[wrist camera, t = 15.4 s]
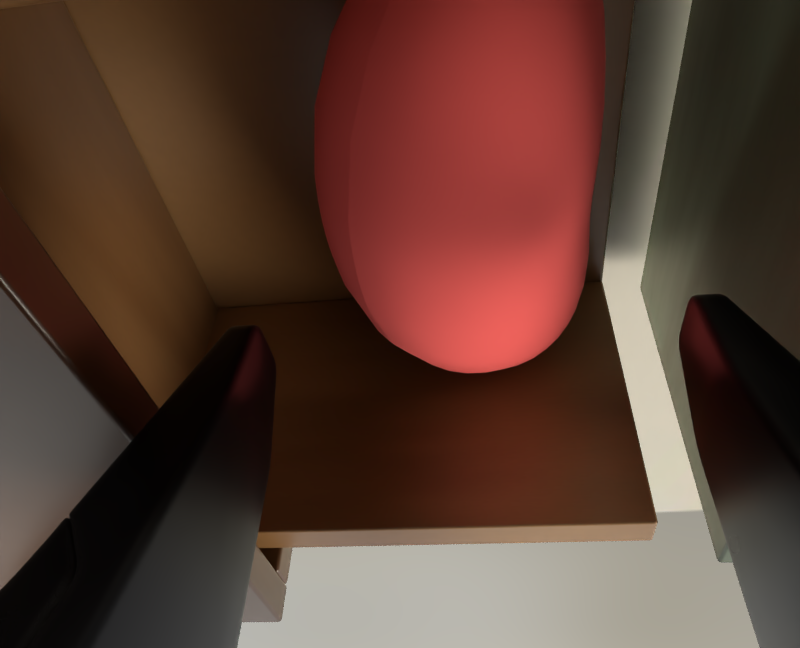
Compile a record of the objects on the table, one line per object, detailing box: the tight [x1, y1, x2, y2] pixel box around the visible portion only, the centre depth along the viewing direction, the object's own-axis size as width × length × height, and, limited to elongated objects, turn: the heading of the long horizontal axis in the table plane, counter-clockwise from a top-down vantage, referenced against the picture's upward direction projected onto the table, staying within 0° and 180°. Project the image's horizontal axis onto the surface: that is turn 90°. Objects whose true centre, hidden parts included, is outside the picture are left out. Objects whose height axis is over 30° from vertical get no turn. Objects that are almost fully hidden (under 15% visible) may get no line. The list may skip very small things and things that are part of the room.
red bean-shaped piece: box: [314, 0, 606, 373], centre depth 12 cm, size 5×9×6 cm
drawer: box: [0, 0, 800, 562], centre depth 11 cm, size 18×13×8 cm
